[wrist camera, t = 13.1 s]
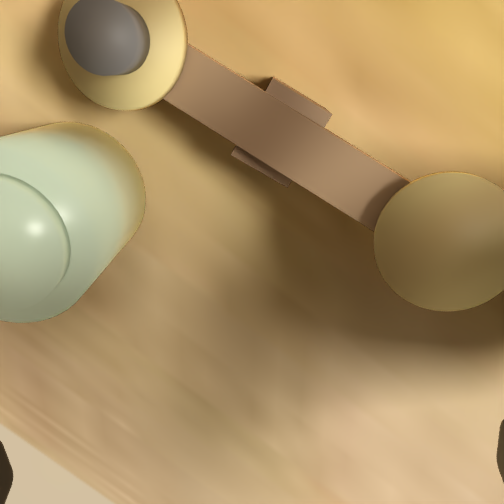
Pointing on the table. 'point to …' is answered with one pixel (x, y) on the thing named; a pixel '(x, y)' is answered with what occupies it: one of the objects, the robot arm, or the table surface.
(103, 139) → the sage cup
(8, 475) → the robot arm
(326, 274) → the table surface
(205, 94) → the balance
